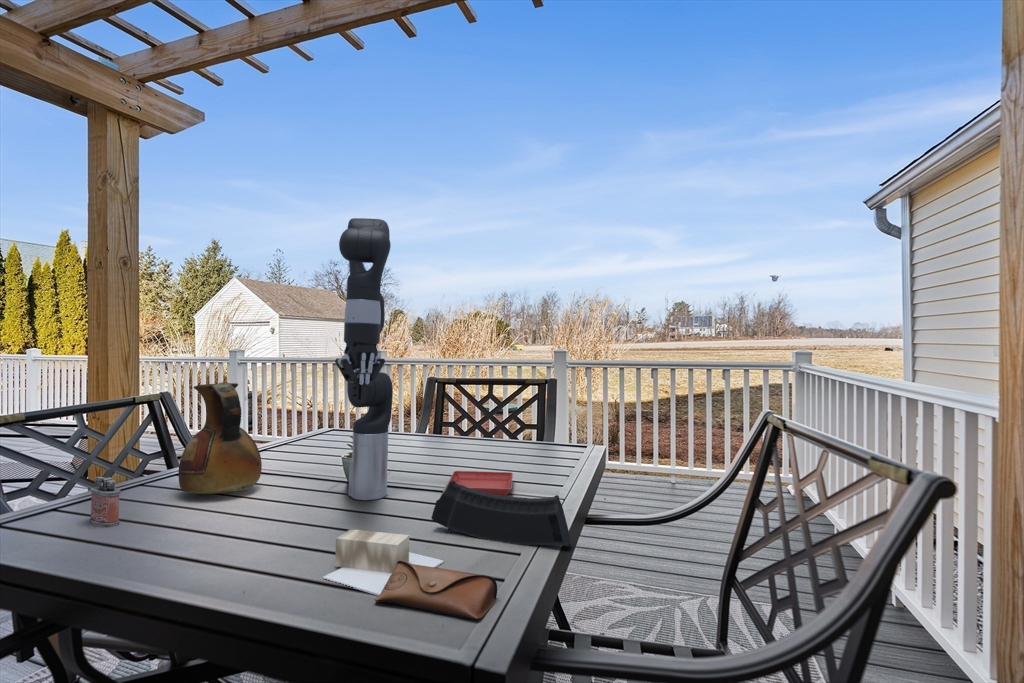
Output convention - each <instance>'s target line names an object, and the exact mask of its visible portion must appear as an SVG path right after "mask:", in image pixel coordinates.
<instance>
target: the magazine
mask: <svg viewBox="0 0 1024 683" xmlns="http://www.w3.org/2000/svg"><path fill="white" fill-rule="evenodd" d="M448 482H449V481H448ZM430 517H431V518H430V519H431V520H432V522H435V523H436V524H439V525H440V526H442V527H444V528H447V531H446V533H449V531H450V532H451V531H455V532H457V533H458V532H459V533H461V534H464V535H468V536H471V537H474V538H478V539H482V540H486V541H490V542H491V541H492V542H498V543H500V542H501V543H505V544H513V545H525V546H565V547H568V546H570V544H571V543H572V539H571V535H570V531H569V527H568V523H567V520H566V515H565V512H564V508H563V504H562V502H561V499H560V496H559V495H558V494H556V495H555V496H550V497H535V498H534V497H533V498H531V497H519V496H508V495H506V496H500V495H495V494H490V493H485V492H481V491H477V490H474V489H471V488H468V487H465V486H463V485H459V484H456V483H455V481H454V480H452V481H450V482H449V484H446V485H445V487H444V489H443V491H442V493H441V495H440V497H439V499H436V501H435V505H434V507H433V511H432V515H431V516H430Z"/></svg>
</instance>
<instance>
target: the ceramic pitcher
mask: <svg viewBox="0 0 1024 683" xmlns="http://www.w3.org/2000/svg"><path fill="white" fill-rule="evenodd" d="M238 386H239V383H238V382H222V381H220V382H219V383H206V384H205V383H204V384H197V385H194V386H193V389H194V390H196V391H197V392H198V393H199V394H200V396H201V397H202V399H203V401H204V405H205V412H206V413H205V423H204V426H203V427H202V428H201V429H200V430H199V431H198V432H196V433H195V434H194V435H193V436H192V437H191V439H189V441H188V443H187V444H186V446H185V448H184V450H183V451H182V453H181V457H180V459H179V465H178V472H177V473H178V476H177V477H178V484H179V488H180V489H181V490H182V491H184V492H186V493H189V494H198V495H215V494H225V493H226V494H227V493H233V492H241V491H244V490H246V491H247V490H249V489H250V488H252V487H253V486H255V484H256V483H258V481H260V478H261V476H262V465H263V464H262V457H261V453H260V450H259V448H258V445H257V444H256V441H255V440H254V438H252V437H251V435H250V434H249V433H248V432H247V431H246V430H245V429H243V428H242V427H241V422H242V407H241V406H242V405H241V401H240V397H239V393H238V391H237V390H236V388H237V387H238Z"/></svg>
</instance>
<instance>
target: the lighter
mask: <svg viewBox="0 0 1024 683" xmlns="http://www.w3.org/2000/svg"><path fill="white" fill-rule="evenodd" d="M94 483H95V484H97V485H98V486H96V487H91V488H90V493H91V500H90V501H91V505H90V506H91V508H90V517H89V524H90V525H92V526H96V527H99V528H115V527H117V526H119V525H120V519H119V515H120V514H119V512H120V495H121V489H119V488H117V487H115V486H116V480H114V479H113V478H112V477H111V476H109V477H103V476H96V478H94Z"/></svg>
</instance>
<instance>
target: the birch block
mask: <svg viewBox="0 0 1024 683" xmlns="http://www.w3.org/2000/svg"><path fill="white" fill-rule="evenodd" d="M409 552H410V534H402V533H391V532H381V531H372V530H364V529H363V530H362V529H348V530H346V531H345V532H343V533H342V534H341V535H339V536H337V537H336V538H335V560H334V562H335V563H334V564H335V565H334V566H335V567H338V568H342V567H345V568H353V569H361V570H369V571H378V572H386V573H392V572H393V570H394V569H395V567H396V565H397V562H398V561H405V562H408V563H409Z"/></svg>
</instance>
